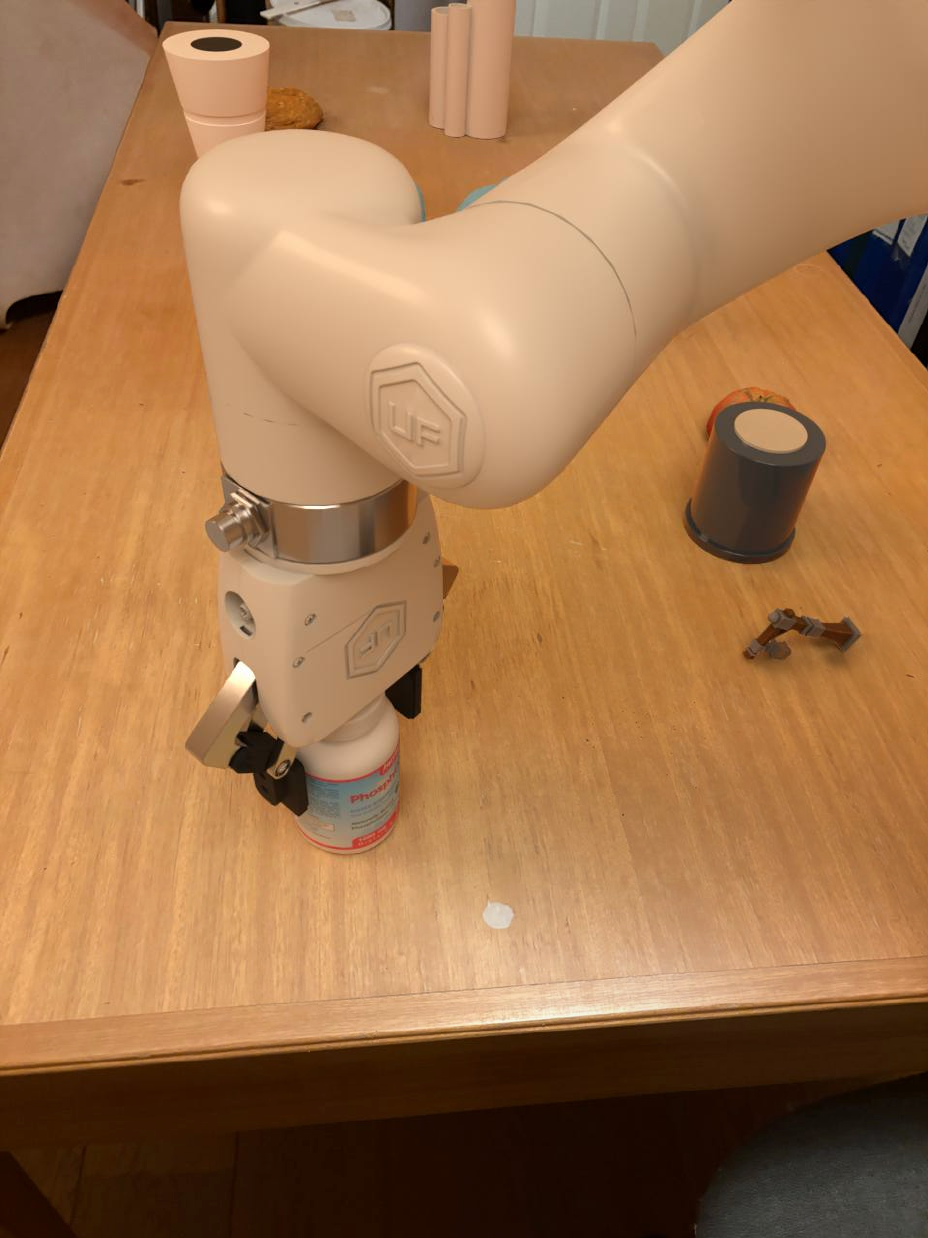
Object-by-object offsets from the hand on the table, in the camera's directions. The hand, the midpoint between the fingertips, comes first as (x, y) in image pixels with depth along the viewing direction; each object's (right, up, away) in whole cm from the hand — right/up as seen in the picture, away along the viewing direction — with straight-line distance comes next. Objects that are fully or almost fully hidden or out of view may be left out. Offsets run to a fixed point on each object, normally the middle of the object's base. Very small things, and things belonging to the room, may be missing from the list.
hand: (342, 747), depth 49 cm
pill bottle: (0, -5, +5) cm, 6 cm away
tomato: (+32, +22, +33) cm, 50 cm away
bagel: (-19, +76, +81) cm, 112 cm away
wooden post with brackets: (+30, +4, +15) cm, 34 cm away
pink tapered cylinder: (-20, +53, +59) cm, 81 cm away
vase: (+7, +76, +83) cm, 113 cm away
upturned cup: (+28, +14, +24) cm, 40 cm away
